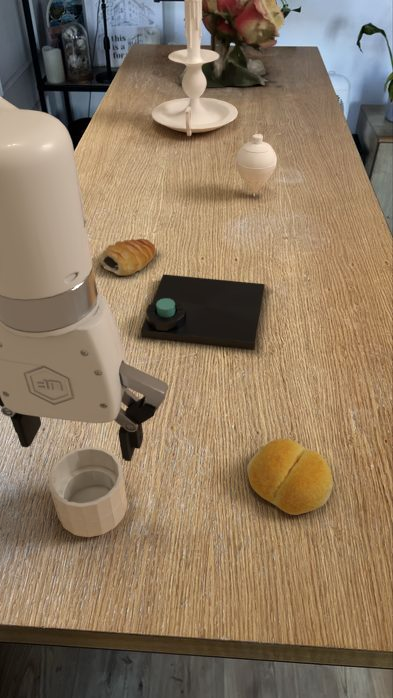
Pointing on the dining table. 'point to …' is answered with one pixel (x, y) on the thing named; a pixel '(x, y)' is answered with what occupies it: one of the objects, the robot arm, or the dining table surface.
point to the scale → (207, 312)
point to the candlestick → (194, 85)
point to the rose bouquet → (238, 39)
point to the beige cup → (88, 491)
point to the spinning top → (256, 162)
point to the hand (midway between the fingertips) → (81, 442)
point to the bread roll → (290, 476)
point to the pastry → (127, 256)
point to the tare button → (165, 307)
